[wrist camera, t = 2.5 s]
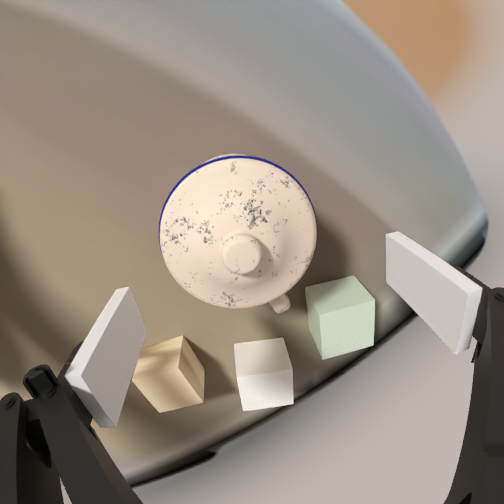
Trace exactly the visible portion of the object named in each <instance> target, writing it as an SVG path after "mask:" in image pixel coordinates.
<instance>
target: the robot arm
mask: <svg viewBox="0 0 504 504" xmlns="http://www.w3.org/2000/svg"><path fill="white" fill-rule="evenodd" d="M386 282H387V283H388V284H389V285H390V286H391V287H392V288H393V289H394V290H395V291H396V292H397V293H398V294H399V295H400V296H401V297H402V298H403V299H404V300H405V301H406V303H407V304H408V305H409V306H410V307H411V308H412V309H413V310H414V311H415V312H416V313H417V314H418V315H419V316H420V317H421V318H422V319H423V320H424V321H425V322H426V323H427V324H428V325H429V327H430V328H431V329H432V330H433V331H434V332H435V333H436V334H437V335H438V336H439V337H440V338H441V340H442V341H443V342H444V343H445V344H446V345H447V346H448V347H449V348H450V349H451V351H452V352H453V353H454V354H455V355H456V354H458V353H460V352H462V351H464V350H466V349H468V348H469V346H470V342H471V339H472V336H473V337H474V338H475V339H476V340H477V345H476V348H475V352H474V355H473V358H472V361H471V362H472V363H474V360H475V363H474V364H475V365H474V375H473V385H472V394H471V401H470V407H469V414H468V420H467V425H466V430H465V435H464V440H463V445H462V449H461V453H460V457H459V461H458V465H457V469H456V473H455V476H454V479H453V483H452V486H451V489H450V492H449V495H448V497H447V499H446V500H445V502H444V504H504V288H494V289H490V288H489V287H487V286H486V285H485V284H483V283H482V282H481V281H479V280H478V279H476V278H474V277H473V276H472V275H471V274H468V272H466V271H465V270H463V269H462V268H460V267H457V266H455V265H452V264H450V265H449V264H448V263H446V262H445V261H443V260H442V259H440V258H439V257H437V256H436V255H434V254H433V253H431V252H430V251H428V250H426V249H425V248H423V247H422V246H420V245H419V244H417V243H416V242H414V241H412V240H411V239H409V238H408V237H406V236H405V235H403V234H401V233H400V232H394V233H389V234H386ZM146 334H147V330H146V327H145V325H144V322H143V320H142V317H141V315H140V312H139V310H138V307H137V305H136V302H135V300H134V297H133V295H132V292H131V289H130V287H125V288H120V289H116V291H115V292H114V294H113V295H112V297H111V298H110V300H109V302H108V303H107V305H106V306H105V308H104V309H103V311H102V313H101V314H100V316H99V317H98V319H97V321H96V322H95V324H94V326H93V327H92V329H91V330H90V332H89V334H88V335H87V337H86V339H85V341H83V342H81V343H80V344H79V345H78V346H77V347H75V348H74V350H73V351H72V353H71V355H70V358H68V360H67V362H66V364H65V365H64V367H63V369H62V370H61V372H60V374H59V376H58V377H57V378H56V376H55V375H54V373H53V372H52V370H51V369H50V367H49V366H48V365H39V366H36V367H34V368H33V369H31V370H30V371H29V372H28V373H27V374H26V375H25V377H24V378H23V385H24V386H25V387H26V389H27V390H28V392H29V393H30V394H31V396H32V397H33V399H31V400H27V401H24V400H23V399H22V398H21V396H20V395H19V394H18V393H15V392H13V393H9V394H7V395H5V396H4V397H3V398H2V399H1V400H0V504H64V503H63V496H62V491H61V484H60V478H61V480H62V483H63V485H64V487H65V489H66V492H67V494H68V496H69V498H70V500H71V502H72V504H143V503H142V502H141V500H140V499H139V498H138V496H137V495H136V494H135V493H134V491H133V490H132V488H131V487H130V485H129V484H128V483H127V481H126V480H125V478H124V477H123V475H122V474H121V473H120V471H119V470H118V468H117V467H116V465H115V464H114V462H113V460H112V459H111V457H110V456H109V454H108V452H107V451H106V449H105V448H104V446H103V444H102V443H101V441H100V439H99V437H98V436H97V434H96V432H95V430H94V429H93V428H92V427H91V425H90V424H91V421H92V418H93V419H94V420H95V421H96V423H97V424H98V425H99V426H100V427H117V424H118V420H119V417H120V413H121V410H122V407H123V403H124V400H125V397H126V394H127V391H128V387H129V384H130V381H131V378H132V375H133V372H134V369H135V366H136V363H137V360H138V357H139V354H140V351H141V348H142V345H143V342H144V340H145V337H146ZM59 476H60V477H59Z"/></svg>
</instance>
